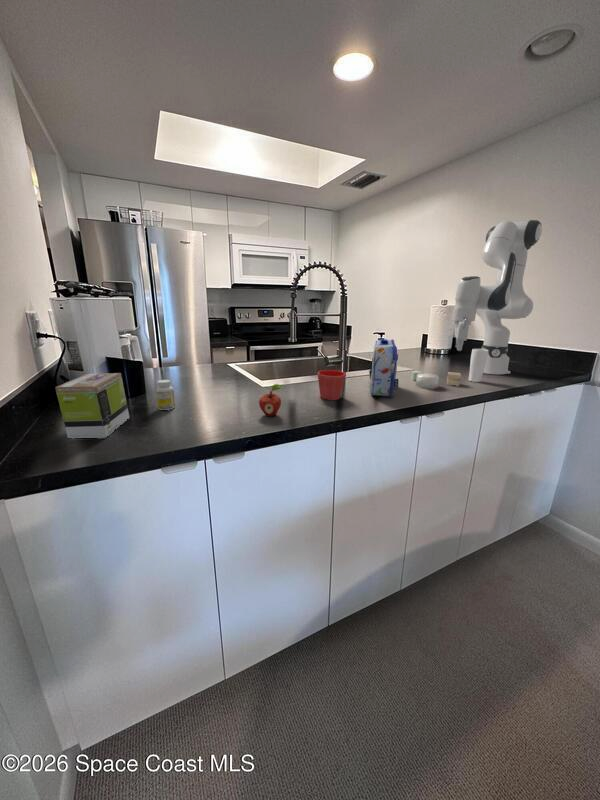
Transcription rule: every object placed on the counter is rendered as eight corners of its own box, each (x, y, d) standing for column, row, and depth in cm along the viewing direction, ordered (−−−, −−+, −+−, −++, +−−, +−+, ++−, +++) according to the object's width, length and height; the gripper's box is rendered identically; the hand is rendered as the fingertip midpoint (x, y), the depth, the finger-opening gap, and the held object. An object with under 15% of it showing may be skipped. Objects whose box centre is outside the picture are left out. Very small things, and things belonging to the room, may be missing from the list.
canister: (416, 383, 146) (417, 372, 144) (437, 385, 143) (438, 374, 141) (415, 387, 138) (416, 376, 137) (437, 390, 135) (439, 378, 133)
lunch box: (397, 402, 118) (404, 342, 111) (369, 400, 120) (374, 341, 113) (392, 384, 143) (397, 334, 137) (369, 382, 145) (373, 334, 139)
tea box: (96, 419, 97) (87, 372, 93) (130, 418, 98) (123, 372, 93) (66, 440, 83) (53, 385, 78) (106, 439, 84) (96, 385, 79)
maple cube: (446, 382, 148) (448, 372, 146) (458, 383, 146) (460, 373, 144) (446, 385, 143) (448, 374, 142) (459, 386, 141) (460, 375, 140)
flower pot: (347, 395, 125) (349, 371, 122) (339, 403, 116) (340, 377, 113) (322, 392, 129) (323, 368, 126) (312, 399, 120) (313, 374, 117)
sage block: (410, 378, 154) (411, 370, 153) (418, 379, 154) (419, 370, 153) (413, 380, 150) (414, 372, 149) (421, 380, 150) (422, 372, 149)
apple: (272, 420, 98) (271, 389, 95) (255, 416, 101) (254, 386, 98) (286, 413, 104) (286, 384, 101) (269, 409, 108) (269, 381, 105)
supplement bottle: (167, 412, 104) (163, 383, 101) (154, 409, 106) (151, 382, 103) (178, 407, 109) (175, 380, 106) (166, 405, 111) (163, 378, 108)
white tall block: (478, 379, 153) (484, 348, 149) (485, 383, 147) (491, 350, 142) (464, 379, 154) (469, 348, 150) (470, 382, 148) (476, 350, 143)
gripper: (474, 317, 125) (468, 352, 129) (469, 316, 143) (464, 346, 147) (457, 317, 127) (451, 351, 131) (454, 315, 145) (449, 345, 149)
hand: (458, 349), depth 139 cm, fingers open, 8 cm apart
